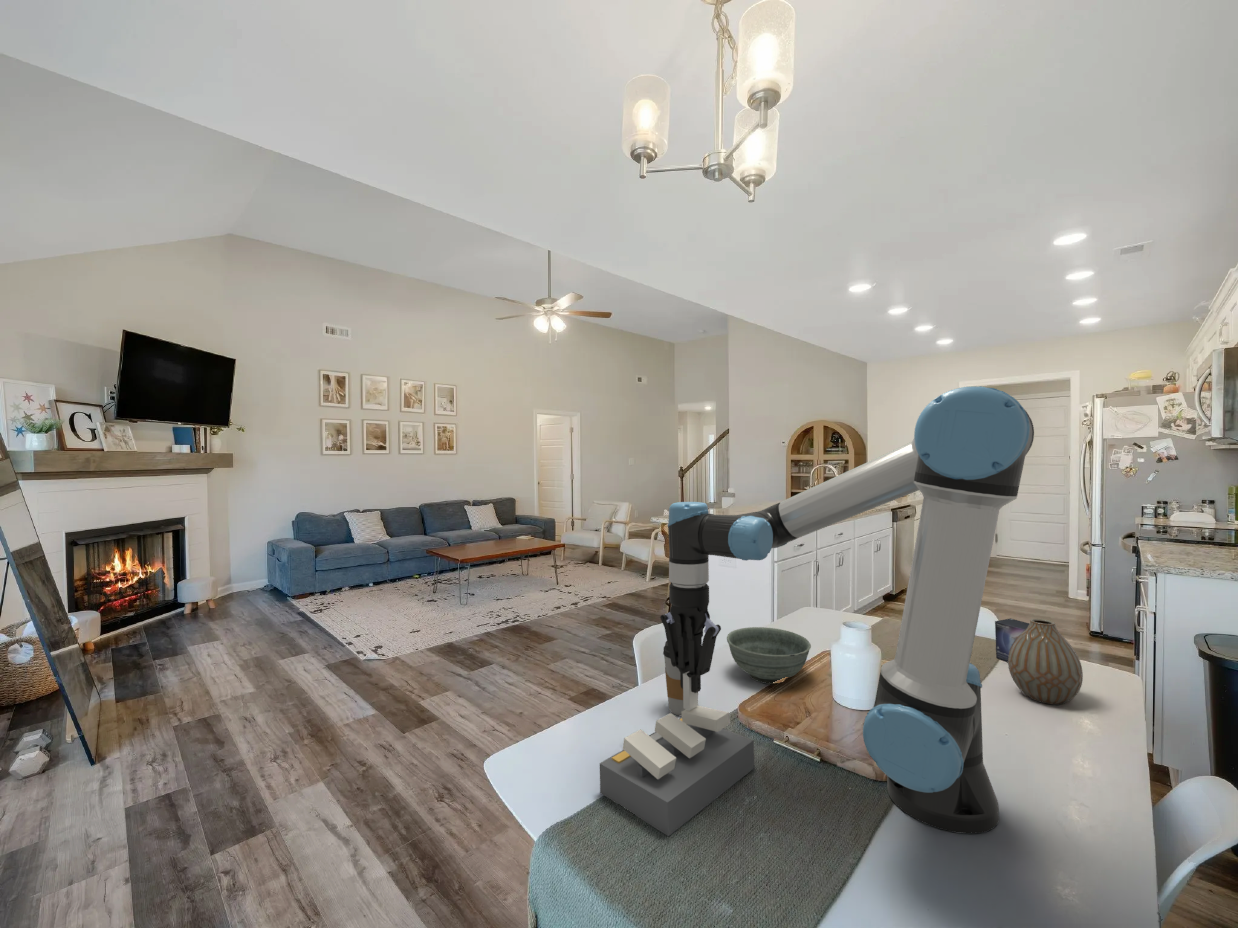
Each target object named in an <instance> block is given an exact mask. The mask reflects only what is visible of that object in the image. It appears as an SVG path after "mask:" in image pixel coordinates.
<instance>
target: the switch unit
mask: <svg viewBox="0 0 1238 928" xmlns="http://www.w3.org/2000/svg"><path fill="white" fill-rule="evenodd" d="M678 719H680V720H681V721H682V716H680V717H678ZM687 725H688V726H689V727H691V728H692V729H693V730H695V731H696V732H697V733H699V734H700V735H702V736H703V737H704V738H706V741H705V746H704V749H703V750H702V751H700V752H699V753H697V754H696V755H694V756H693V757H691V758H688V757H687V756H686V755H684V754H683V753H682V752H681V751H679V750H678V749H677V748H676V747H674V746H673V745H672V744H670V743H669V742H668V741H667V740H665V739H664V738H663V737H662V736H660V735H659V734H658V733H657V732H655V731H654V732H653V733H650V734H648V735H649V736H650V737H651V738H652V739H654V740H655V741H656V742H657V743H659V744H660V745H661V746H662V747H664V748H665V749H666V750H667V751H669V752H670V753H671V754H672V755H674V756H675V757H676V762H675V768H674V769H673V770H672V771H670V772H669V773H667V774H666V775H664V776H663V777H661V778H660V779H657V778H656V777H654V776H653V775H652V774H651V773H650V772H649V771H648V770H646V769H645V768H644V767H643V766H642V765H641V764H639V763H638V762H637V761H636V760H635V759H634V758H633V757H631V756H630V755H629V754H628V753H627V752H626V751H625V750H623V749H622V750H620V751H619V752H617V753H615V754H614V755H611V756H610V757H608V758H607V759H605V760H603V761H601V762H599V789H600V790H599V794H601V795H603V796H604V797H606V798H607V799H609V800H610V799H611V801H612V802H614V801H615V802H614V803H615V804H617V805H618V804H620V805H621V806H623V807H625V808H626V809H628V810H629V811H631V812H632V813H633V815H634V814H635V815H634V816H636V817H637V818H639V819H640V818H641V820H642V821H644V822H645V823H647V824H648V825H650V826H651V827H653V828H655V829H656V830H658V831H659V832H661V833H662V834H664V835H666V836H667V837H669V836H671V835H672V834H673V833H675V832H676V831H678V829H680V828H682V826H683V825H685V824H687V822H689V821H690V820H691V819H692V818H694V817H695V816H696V815H697V814H698V813H700V812H701V811H702V810H703V809H705V808H706V807H708V806H709V805H710V804H711V803H713V802H714V801H715V800H716V799H718V798H719V797H720V796H721V795H722V794H724V793H725V792H727V791H728V790H729V789H730V788H731V787H732V786H734V785H735V784H736V783H737V782H739V781H740V780H741V779H742V778H744V777H745V776H746V775H748V774H750V772H751V771H752V770H754V769H755V746H754V745H755V744H754V743H755V741H754V739H752V738H749V737H746V736H744V735H742V734H740V733H737V732H734V731H732V730H729V729H727V728H723V729H722V730H720V731H718V732H716V731H712V730H708V729H704V728H701V727H697V726H693V725H689V724H687ZM620 805H619V806H620ZM621 806H620V807H621ZM623 807H622V808H623ZM625 808H624V809H625ZM626 809H625V810H626ZM628 810H627V811H628ZM629 811H628V812H629ZM631 812H630V813H631ZM632 813H631V814H632Z"/></svg>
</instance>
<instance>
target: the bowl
mask: <svg viewBox="0 0 1238 928" xmlns="http://www.w3.org/2000/svg"><path fill="white" fill-rule="evenodd" d="M726 642H727V644H728V646H729V650H730V654H731V656H732V658H733V661H734V662H735V663H736V665H738V667H739V668H740V669H741V670H742V671H743V672H745V673H746V674H748V676H749V677H750V678H751V679H752V680H754V681H757V682H760V683H763V684H767V685H768V684H770V685H773V684H772V683H773V682H775V681H777V680H780V679H782V678H785V677H789V678H791V677H794V676H795V675H797V673H799V672H800V671H801V670H802V668H803V667H804V666H805V664H806V662H807V659H808V656H809V652H810V650H811V648H812V645H811V642H809V640H808V639H807V638H806V637H804V636H803V635H800V634H798V633H795V632H793V631H790V630H785V629H780V628H775V627H762V626H758V627H757V626H753V627H750V626H749V627H743V628H738V629H733V630H732V631H730V632H729V633H728V634H727V636H726Z"/></svg>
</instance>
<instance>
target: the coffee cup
mask: <svg viewBox="0 0 1238 928" xmlns="http://www.w3.org/2000/svg"><path fill="white" fill-rule="evenodd" d="M662 655H663V656H664V672H665V673H664V675H665V683H666V694H667V700H668V701H667V702H668V709H669V710H670V713H672V714H673V715H674V716H679V717H682V714H681V712H682V711H684V710H685V709H684V708H683V688H681V685H680V671H679V669H678V668H677V667H676V666H675V667H673V666H672V664H671V659H670V654H669V648H668V643H667V640H666V641H665V642H664V646H663V653H662ZM676 658H677V657H676Z"/></svg>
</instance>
